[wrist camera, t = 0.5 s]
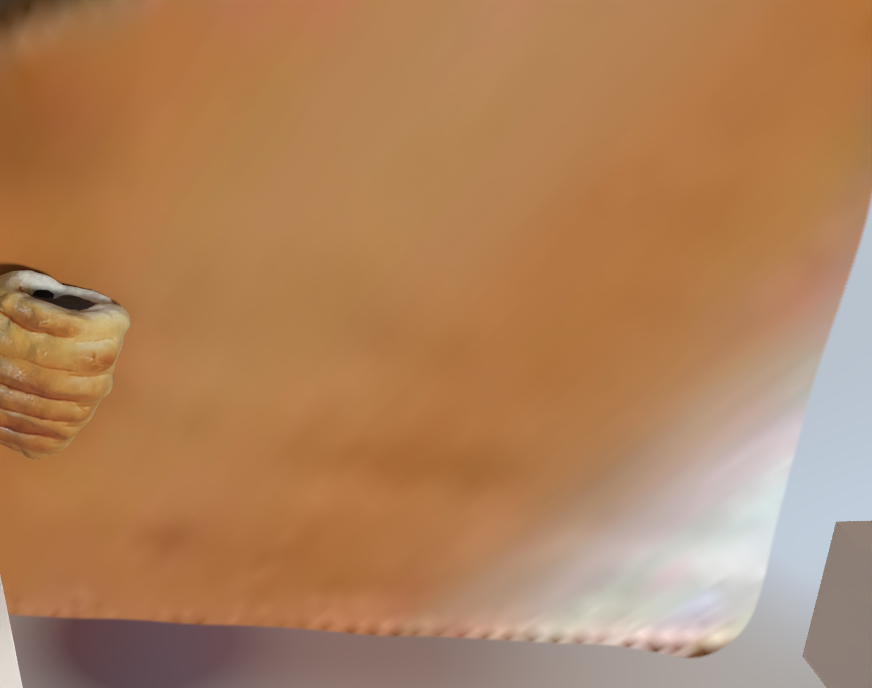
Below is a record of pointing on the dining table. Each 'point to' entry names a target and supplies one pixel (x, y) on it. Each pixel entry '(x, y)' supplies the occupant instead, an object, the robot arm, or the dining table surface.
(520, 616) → the dining table surface
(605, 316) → the dining table surface
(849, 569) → the robot arm
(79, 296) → the pastry
